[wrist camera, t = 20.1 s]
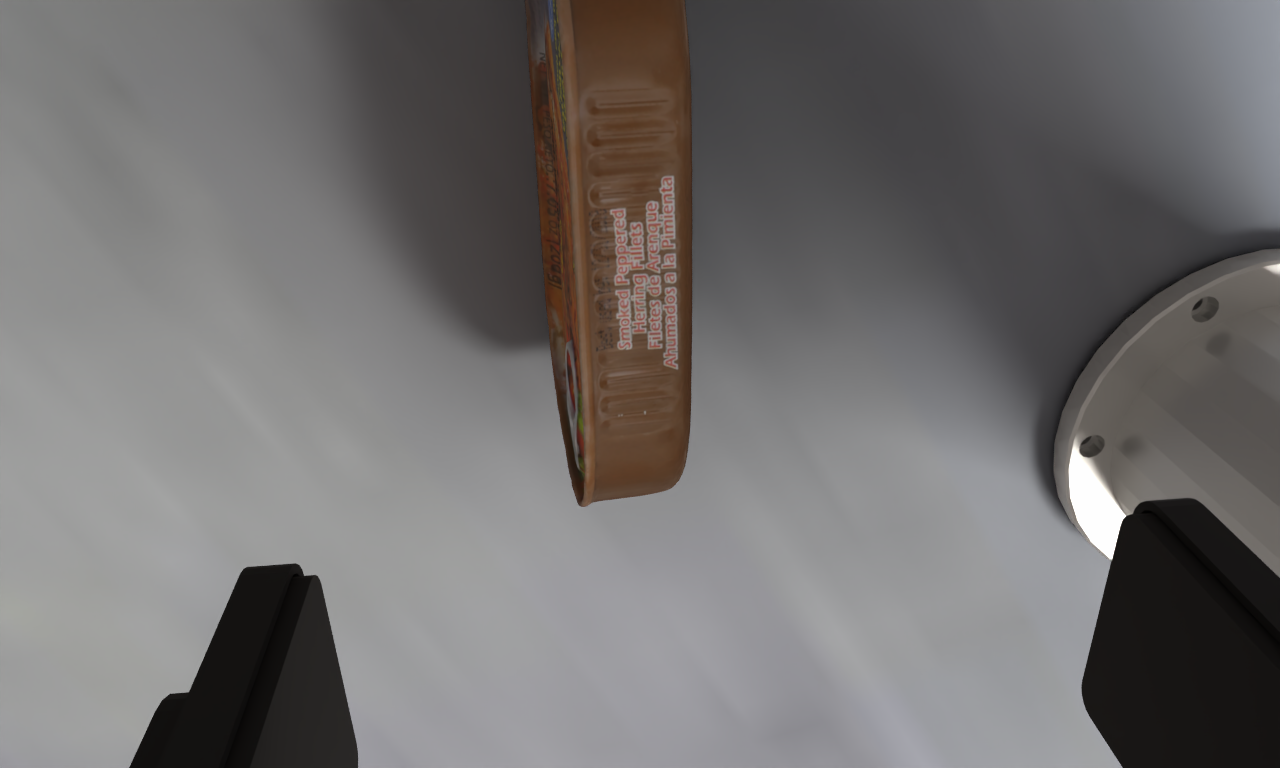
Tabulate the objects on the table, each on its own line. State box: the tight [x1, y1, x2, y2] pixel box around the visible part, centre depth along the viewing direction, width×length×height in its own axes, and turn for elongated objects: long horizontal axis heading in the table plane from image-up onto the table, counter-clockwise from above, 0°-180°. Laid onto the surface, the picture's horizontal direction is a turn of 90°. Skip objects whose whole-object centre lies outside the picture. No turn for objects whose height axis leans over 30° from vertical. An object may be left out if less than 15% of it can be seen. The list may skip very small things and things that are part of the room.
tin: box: [525, 0, 692, 507], centre depth 24 cm, size 15×3×8 cm, turn 1°
